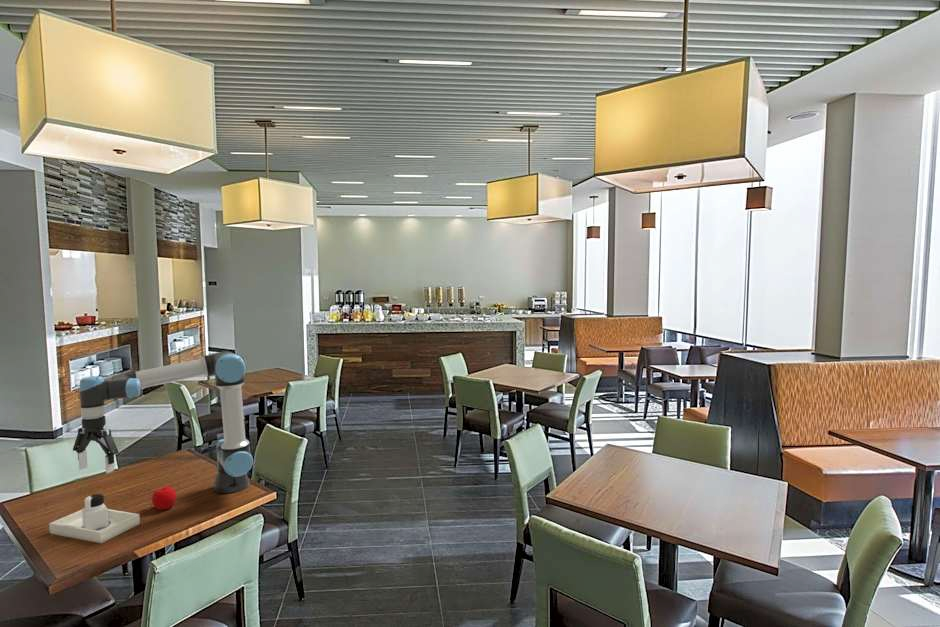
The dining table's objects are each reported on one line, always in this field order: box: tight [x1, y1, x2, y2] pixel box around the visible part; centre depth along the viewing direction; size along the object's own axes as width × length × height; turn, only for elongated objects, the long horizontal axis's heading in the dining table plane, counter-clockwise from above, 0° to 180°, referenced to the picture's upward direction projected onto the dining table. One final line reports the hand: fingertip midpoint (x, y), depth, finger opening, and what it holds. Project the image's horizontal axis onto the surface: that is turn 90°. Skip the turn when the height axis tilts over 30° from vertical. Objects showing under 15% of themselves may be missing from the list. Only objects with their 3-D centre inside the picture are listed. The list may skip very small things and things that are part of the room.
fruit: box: [151, 485, 177, 511], centre depth 223 cm, size 9×9×10 cm
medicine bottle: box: [81, 493, 109, 530], centre depth 204 cm, size 7×7×12 cm
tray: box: [48, 508, 141, 544], centre depth 204 cm, size 26×16×4 cm, turn 73°
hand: (96, 470), depth 205 cm, fingers open, 13 cm apart
